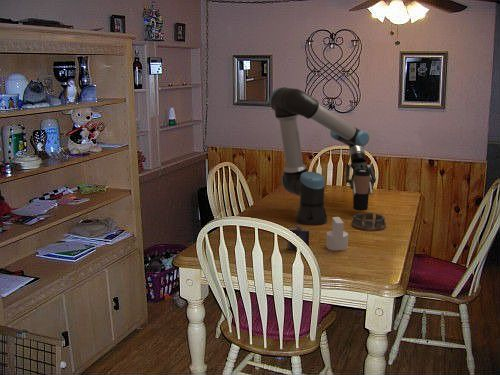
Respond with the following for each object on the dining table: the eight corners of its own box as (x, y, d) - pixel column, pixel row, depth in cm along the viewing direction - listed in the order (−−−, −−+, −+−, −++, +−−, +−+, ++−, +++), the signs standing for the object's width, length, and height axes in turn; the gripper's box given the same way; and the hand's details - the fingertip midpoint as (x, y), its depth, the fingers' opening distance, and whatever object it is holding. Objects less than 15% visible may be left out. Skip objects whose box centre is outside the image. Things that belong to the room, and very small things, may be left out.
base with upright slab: (324, 243, 238) (325, 217, 235) (345, 243, 238) (346, 216, 235) (328, 250, 229) (329, 223, 226) (349, 250, 229) (351, 223, 227)
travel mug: (358, 211, 273) (360, 172, 268) (349, 207, 280) (351, 169, 275) (371, 210, 276) (373, 171, 271) (362, 206, 283) (364, 168, 278)
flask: (286, 249, 231) (286, 225, 228) (288, 247, 233) (288, 223, 231) (308, 252, 228) (308, 227, 225) (309, 249, 231) (310, 225, 228)
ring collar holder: (367, 233, 251) (368, 223, 250) (344, 224, 265) (344, 215, 264) (393, 227, 260) (393, 218, 258) (369, 219, 273) (369, 210, 272)
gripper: (375, 160, 288) (381, 198, 276) (337, 160, 288) (341, 197, 276) (378, 152, 282) (384, 190, 270) (339, 151, 281) (343, 189, 269)
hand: (362, 194), depth 273 cm, fingers closed on travel mug, 7 cm apart
